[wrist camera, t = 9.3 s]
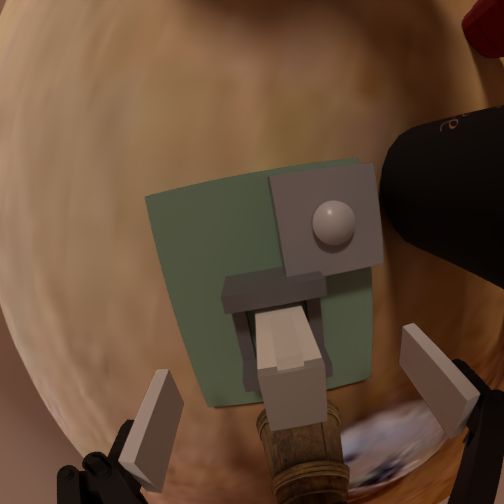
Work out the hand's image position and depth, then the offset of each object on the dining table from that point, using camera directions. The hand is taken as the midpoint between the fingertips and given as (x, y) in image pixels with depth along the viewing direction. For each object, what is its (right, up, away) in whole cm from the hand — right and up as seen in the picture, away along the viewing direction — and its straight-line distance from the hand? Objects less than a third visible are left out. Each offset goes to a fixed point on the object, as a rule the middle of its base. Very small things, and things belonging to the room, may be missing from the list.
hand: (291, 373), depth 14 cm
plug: (0, +2, +8) cm, 8 cm away
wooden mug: (+4, -14, +13) cm, 20 cm away
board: (0, +3, +9) cm, 9 cm away
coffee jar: (+13, +12, +7) cm, 19 cm away
